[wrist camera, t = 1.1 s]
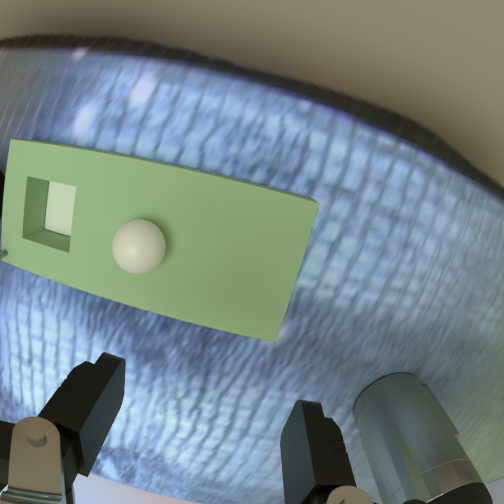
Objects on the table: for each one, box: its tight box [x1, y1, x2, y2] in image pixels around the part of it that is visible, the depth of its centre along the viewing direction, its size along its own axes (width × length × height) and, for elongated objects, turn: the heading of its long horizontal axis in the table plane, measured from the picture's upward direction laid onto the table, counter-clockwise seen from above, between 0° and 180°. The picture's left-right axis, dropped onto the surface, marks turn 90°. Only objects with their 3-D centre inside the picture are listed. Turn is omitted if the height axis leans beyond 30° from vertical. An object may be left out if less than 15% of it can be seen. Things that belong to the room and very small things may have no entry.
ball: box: [112, 219, 166, 275], centre depth 22 cm, size 4×4×4 cm
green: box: [1, 139, 319, 342], centre depth 26 cm, size 28×12×4 cm, turn 76°
